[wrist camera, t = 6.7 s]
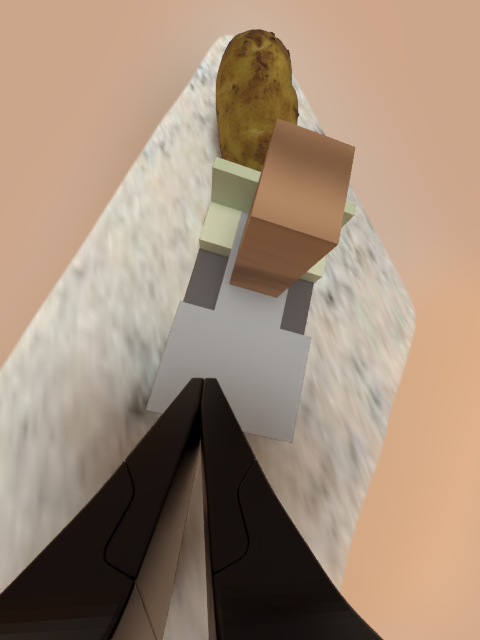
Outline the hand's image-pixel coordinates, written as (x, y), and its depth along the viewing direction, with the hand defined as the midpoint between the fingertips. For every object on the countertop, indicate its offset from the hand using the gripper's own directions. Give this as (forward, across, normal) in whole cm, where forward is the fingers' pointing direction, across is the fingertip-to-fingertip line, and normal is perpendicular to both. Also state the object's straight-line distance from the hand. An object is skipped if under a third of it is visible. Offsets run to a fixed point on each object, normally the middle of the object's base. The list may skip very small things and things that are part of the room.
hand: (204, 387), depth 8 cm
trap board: (+14, -3, +4) cm, 15 cm away
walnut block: (+15, -4, -1) cm, 16 cm away
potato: (+25, -3, -10) cm, 27 cm away
